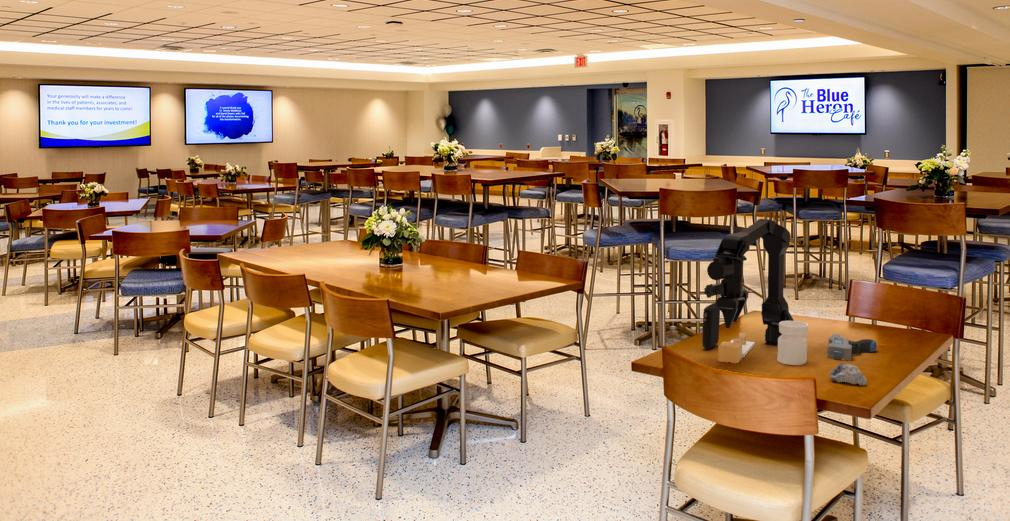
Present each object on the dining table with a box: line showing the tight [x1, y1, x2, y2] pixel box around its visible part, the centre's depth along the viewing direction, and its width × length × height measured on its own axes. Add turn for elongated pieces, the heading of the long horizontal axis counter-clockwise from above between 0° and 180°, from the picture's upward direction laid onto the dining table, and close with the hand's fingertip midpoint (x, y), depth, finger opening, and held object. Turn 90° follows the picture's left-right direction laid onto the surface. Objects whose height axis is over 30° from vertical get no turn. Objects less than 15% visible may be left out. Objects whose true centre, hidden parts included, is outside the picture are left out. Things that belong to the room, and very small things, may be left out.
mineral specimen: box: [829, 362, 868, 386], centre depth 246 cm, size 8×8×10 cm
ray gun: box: [826, 333, 878, 361], centre depth 276 cm, size 4×19×15 cm
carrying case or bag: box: [701, 302, 721, 350], centre depth 282 cm, size 11×3×15 cm, turn 145°
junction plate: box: [729, 332, 756, 358], centre depth 281 cm, size 8×17×4 cm, turn 153°
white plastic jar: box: [776, 320, 809, 366], centre depth 267 cm, size 9×9×12 cm
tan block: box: [717, 341, 743, 364], centre depth 269 cm, size 6×6×5 cm
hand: (731, 325), depth 267 cm, fingers open, 9 cm apart
